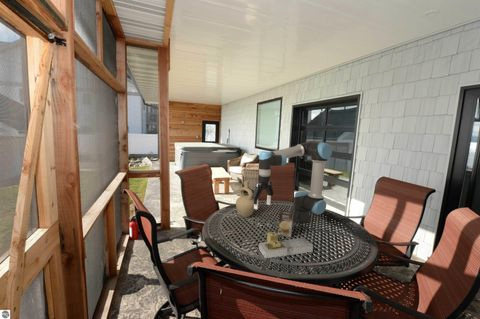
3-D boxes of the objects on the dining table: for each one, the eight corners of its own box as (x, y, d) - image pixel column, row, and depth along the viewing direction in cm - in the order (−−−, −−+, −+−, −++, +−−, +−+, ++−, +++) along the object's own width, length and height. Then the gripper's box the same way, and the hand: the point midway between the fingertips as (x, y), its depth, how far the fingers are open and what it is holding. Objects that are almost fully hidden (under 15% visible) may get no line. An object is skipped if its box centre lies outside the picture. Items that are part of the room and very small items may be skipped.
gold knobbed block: (273, 240, 150) (274, 231, 149) (277, 244, 145) (277, 234, 144) (266, 241, 149) (267, 231, 148) (270, 244, 144) (270, 235, 143)
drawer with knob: (276, 249, 139) (277, 239, 138) (280, 253, 134) (280, 243, 133) (268, 250, 137) (269, 240, 136) (272, 254, 132) (272, 244, 131)
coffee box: (277, 234, 158) (279, 212, 156) (279, 231, 164) (280, 209, 162) (290, 237, 155) (292, 215, 153) (292, 233, 161) (293, 211, 159)
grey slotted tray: (303, 243, 147) (303, 237, 146) (312, 251, 137) (313, 245, 137) (258, 249, 138) (259, 243, 137) (265, 258, 128) (265, 251, 128)
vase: (231, 215, 191) (232, 180, 187) (245, 210, 202) (247, 178, 198) (244, 221, 179) (246, 184, 175) (259, 216, 190) (261, 181, 186)
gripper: (271, 172, 159) (269, 201, 162) (247, 176, 141) (245, 209, 144) (280, 174, 154) (277, 204, 157) (256, 178, 136) (254, 212, 139)
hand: (262, 206), depth 150 cm, fingers open, 13 cm apart
